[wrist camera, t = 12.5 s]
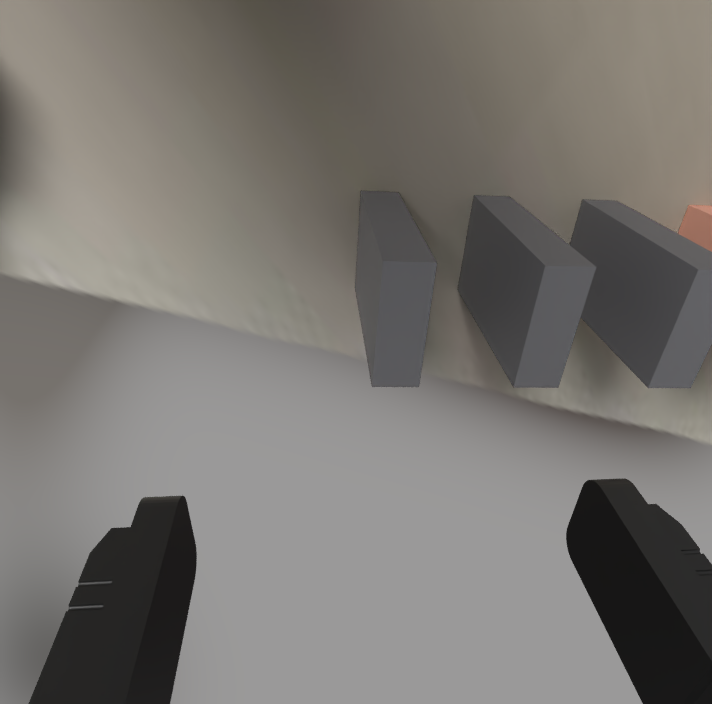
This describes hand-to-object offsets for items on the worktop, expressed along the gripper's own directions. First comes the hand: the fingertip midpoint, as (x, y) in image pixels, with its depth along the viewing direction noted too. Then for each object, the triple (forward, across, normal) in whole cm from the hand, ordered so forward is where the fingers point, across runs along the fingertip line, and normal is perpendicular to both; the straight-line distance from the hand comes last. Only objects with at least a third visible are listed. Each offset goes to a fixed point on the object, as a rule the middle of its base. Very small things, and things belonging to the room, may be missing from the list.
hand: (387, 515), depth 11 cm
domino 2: (+18, -7, +1) cm, 19 cm away
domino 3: (+18, -13, +1) cm, 22 cm away
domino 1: (+18, -2, +1) cm, 18 cm away
